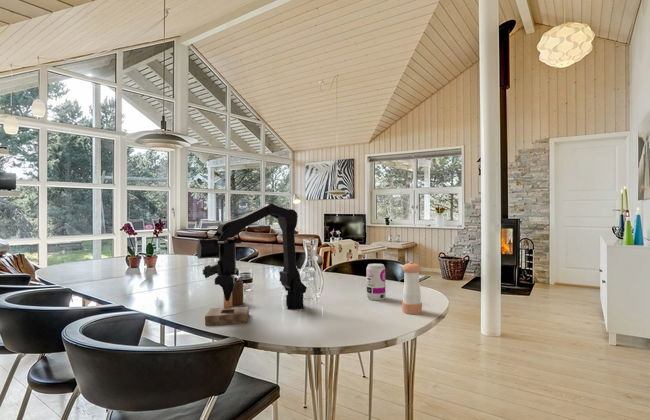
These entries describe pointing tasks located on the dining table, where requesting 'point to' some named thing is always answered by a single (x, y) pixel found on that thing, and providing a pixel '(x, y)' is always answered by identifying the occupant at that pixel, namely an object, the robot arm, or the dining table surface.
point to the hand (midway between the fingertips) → (227, 299)
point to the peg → (228, 303)
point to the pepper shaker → (411, 289)
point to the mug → (237, 293)
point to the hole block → (227, 315)
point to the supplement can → (376, 282)
